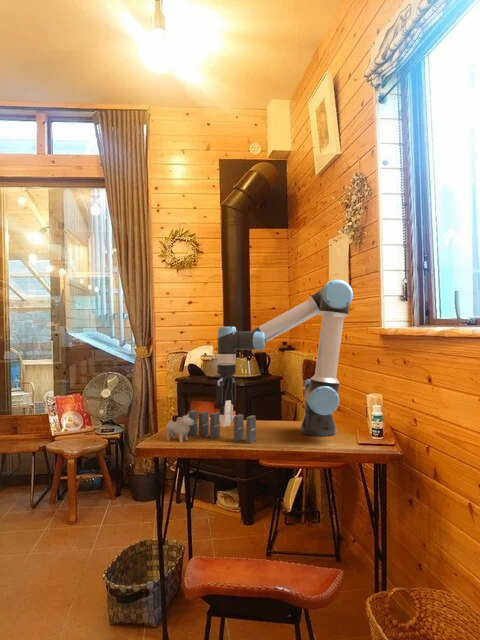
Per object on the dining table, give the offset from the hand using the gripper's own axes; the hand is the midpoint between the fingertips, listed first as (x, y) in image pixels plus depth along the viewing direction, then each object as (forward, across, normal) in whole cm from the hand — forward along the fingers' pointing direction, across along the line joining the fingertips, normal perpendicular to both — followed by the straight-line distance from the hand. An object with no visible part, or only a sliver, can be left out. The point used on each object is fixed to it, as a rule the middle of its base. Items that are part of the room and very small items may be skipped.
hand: (226, 421), depth 184 cm
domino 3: (+7, 0, -5) cm, 9 cm away
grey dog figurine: (+8, +10, -16) cm, 20 cm away
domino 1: (+7, 0, -16) cm, 18 cm away
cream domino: (+2, 0, 0) cm, 2 cm away
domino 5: (+7, 0, +11) cm, 13 cm away
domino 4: (+7, 0, +6) cm, 9 cm away
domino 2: (+7, 0, -11) cm, 13 cm away
